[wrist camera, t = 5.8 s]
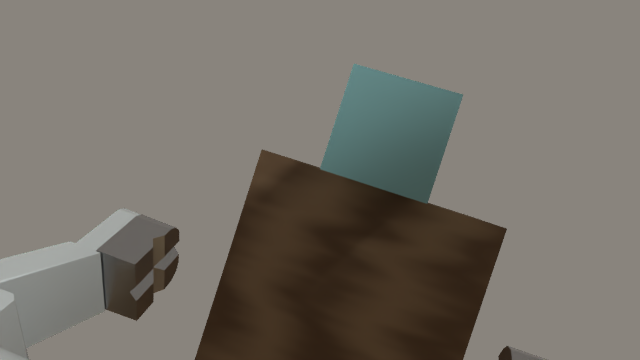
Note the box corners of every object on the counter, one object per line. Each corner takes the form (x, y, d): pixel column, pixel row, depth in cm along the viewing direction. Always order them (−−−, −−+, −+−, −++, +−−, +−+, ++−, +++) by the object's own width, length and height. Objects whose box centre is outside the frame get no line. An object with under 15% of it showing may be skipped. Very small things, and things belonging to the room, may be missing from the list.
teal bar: (427, 203, 16) (463, 94, 16) (320, 168, 17) (353, 63, 17) (405, 195, 40) (420, 151, 40) (361, 181, 41) (376, 137, 40)
